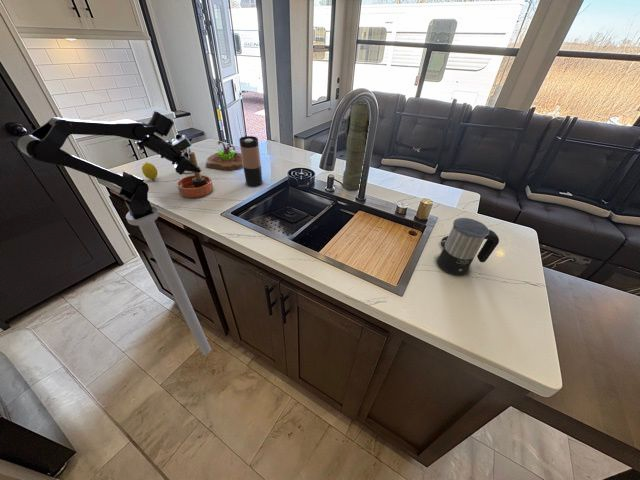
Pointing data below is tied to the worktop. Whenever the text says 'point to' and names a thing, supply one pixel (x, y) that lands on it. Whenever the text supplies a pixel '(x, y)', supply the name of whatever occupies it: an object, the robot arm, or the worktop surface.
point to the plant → (225, 159)
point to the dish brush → (196, 173)
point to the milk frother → (466, 245)
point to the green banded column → (355, 145)
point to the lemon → (149, 170)
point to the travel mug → (251, 160)
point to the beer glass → (184, 152)
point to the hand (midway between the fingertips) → (199, 170)
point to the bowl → (190, 191)
